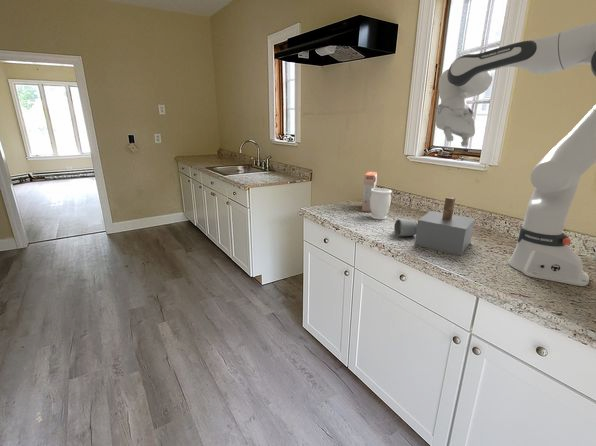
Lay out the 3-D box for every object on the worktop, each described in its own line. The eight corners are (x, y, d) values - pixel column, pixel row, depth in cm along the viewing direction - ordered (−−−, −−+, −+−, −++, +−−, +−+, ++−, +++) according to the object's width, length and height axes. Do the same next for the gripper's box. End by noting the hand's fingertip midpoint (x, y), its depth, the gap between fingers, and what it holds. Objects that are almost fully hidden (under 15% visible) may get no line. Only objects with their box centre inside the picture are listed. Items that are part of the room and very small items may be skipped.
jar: (364, 216, 170) (366, 189, 166) (376, 213, 177) (379, 186, 172) (381, 221, 162) (384, 192, 158) (392, 218, 169) (396, 190, 164)
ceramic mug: (417, 238, 140) (420, 221, 138) (400, 238, 139) (402, 222, 137) (406, 230, 150) (408, 214, 148) (390, 231, 149) (391, 215, 147)
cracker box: (372, 212, 178) (375, 175, 172) (361, 211, 180) (364, 174, 174) (374, 206, 191) (377, 171, 184) (364, 205, 193) (367, 171, 186)
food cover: (470, 242, 136) (479, 197, 130) (460, 255, 123) (470, 205, 116) (427, 233, 146) (434, 191, 140) (414, 244, 133) (421, 198, 127)
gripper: (444, 98, 116) (448, 134, 113) (476, 113, 126) (480, 145, 124) (429, 106, 121) (433, 140, 118) (460, 120, 132) (464, 151, 129)
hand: (457, 143), depth 121 cm, fingers open, 8 cm apart
